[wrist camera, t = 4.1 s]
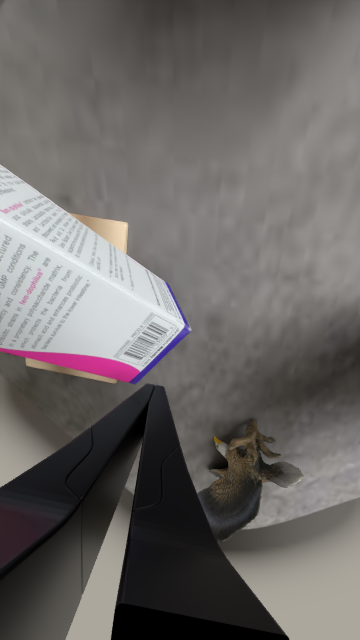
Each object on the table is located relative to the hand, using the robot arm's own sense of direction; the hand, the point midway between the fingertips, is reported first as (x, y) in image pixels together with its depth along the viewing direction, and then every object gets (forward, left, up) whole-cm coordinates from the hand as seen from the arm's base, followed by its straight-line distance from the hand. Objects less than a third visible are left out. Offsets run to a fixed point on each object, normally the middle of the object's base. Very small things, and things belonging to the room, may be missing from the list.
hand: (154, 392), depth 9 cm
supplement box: (+1, -1, -6) cm, 6 cm away
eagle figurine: (-8, +11, -8) cm, 16 cm away
